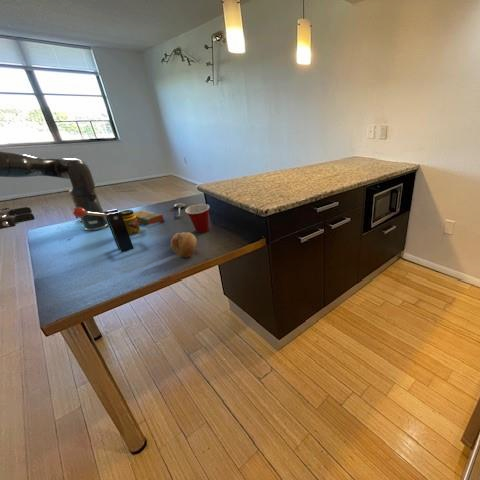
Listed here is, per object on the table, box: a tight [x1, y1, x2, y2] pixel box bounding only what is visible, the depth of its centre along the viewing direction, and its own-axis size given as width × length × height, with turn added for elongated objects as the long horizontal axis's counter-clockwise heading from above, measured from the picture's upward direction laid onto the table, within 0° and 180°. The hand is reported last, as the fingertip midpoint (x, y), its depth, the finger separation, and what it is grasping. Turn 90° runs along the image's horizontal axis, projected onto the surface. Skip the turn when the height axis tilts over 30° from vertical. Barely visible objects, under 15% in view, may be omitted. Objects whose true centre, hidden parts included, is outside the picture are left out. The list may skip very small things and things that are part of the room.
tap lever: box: [72, 207, 113, 218], centre depth 98 cm, size 13×4×4 cm, turn 140°
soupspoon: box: [174, 202, 187, 219], centre depth 150 cm, size 22×3×7 cm
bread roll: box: [170, 231, 198, 258], centre depth 108 cm, size 10×15×8 cm, turn 25°
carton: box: [133, 209, 165, 226], centre depth 136 cm, size 8×16×4 cm, turn 64°
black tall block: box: [103, 208, 135, 253], centre depth 105 cm, size 12×9×18 cm
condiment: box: [120, 209, 142, 236], centre depth 119 cm, size 7×8×12 cm
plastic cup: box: [184, 203, 210, 234], centre depth 125 cm, size 11×11×12 cm
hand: (32, 212), depth 85 cm, fingers open, 8 cm apart
